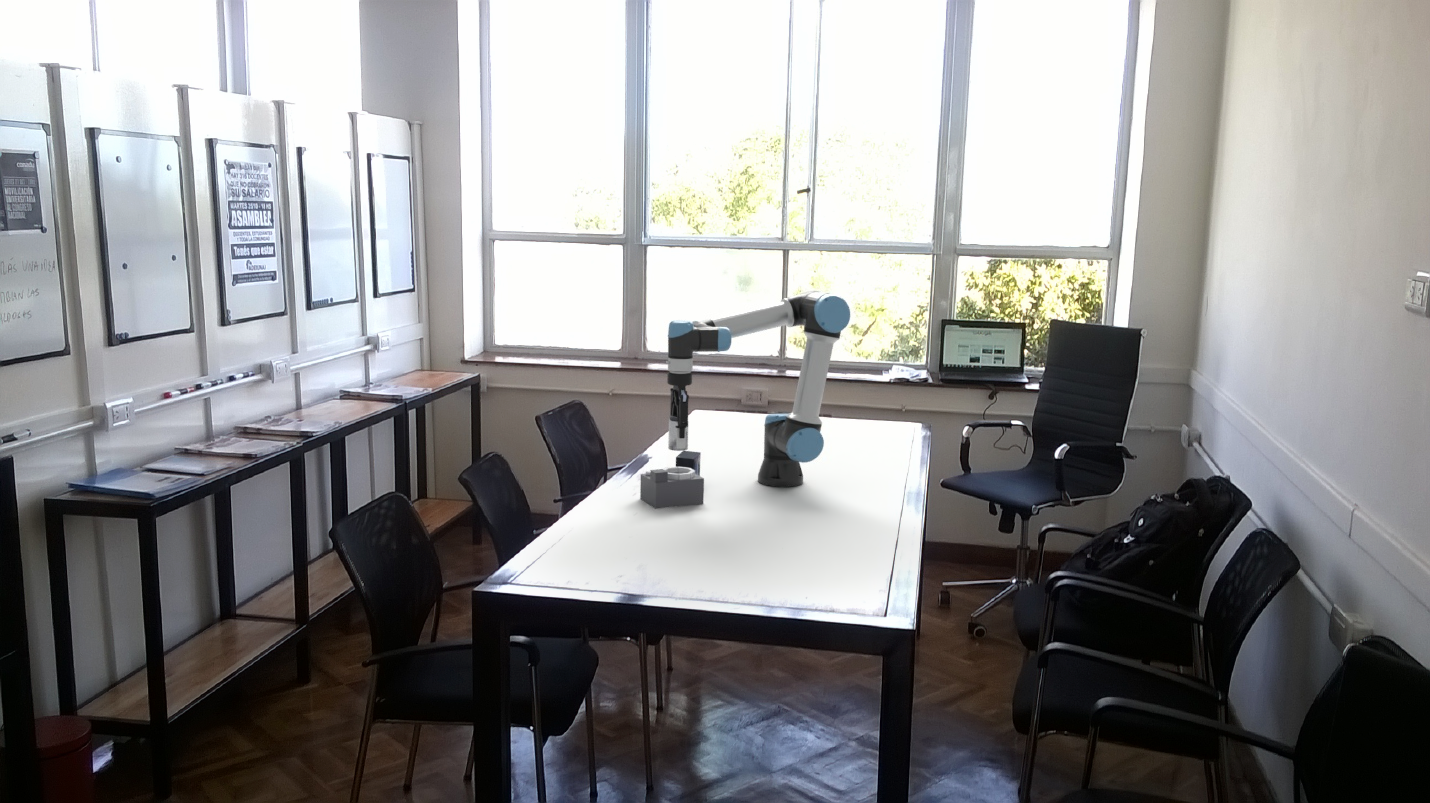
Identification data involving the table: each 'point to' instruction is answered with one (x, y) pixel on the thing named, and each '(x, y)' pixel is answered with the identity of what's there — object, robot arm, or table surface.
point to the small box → (689, 460)
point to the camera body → (671, 487)
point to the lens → (675, 434)
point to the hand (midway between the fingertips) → (678, 445)
